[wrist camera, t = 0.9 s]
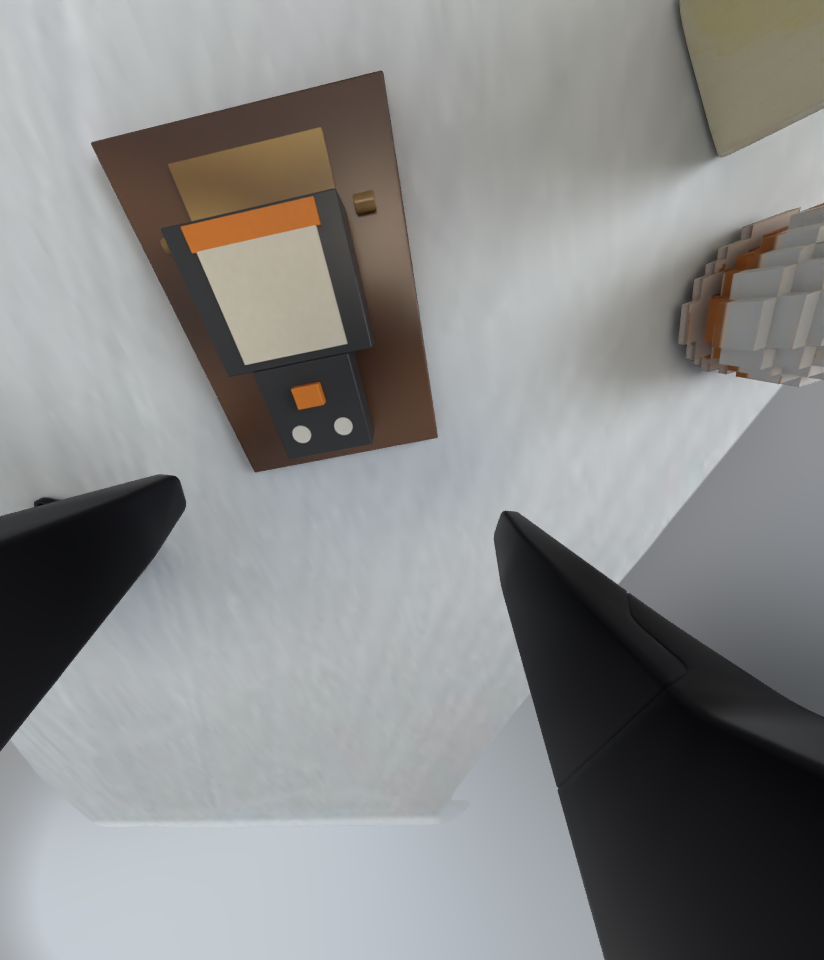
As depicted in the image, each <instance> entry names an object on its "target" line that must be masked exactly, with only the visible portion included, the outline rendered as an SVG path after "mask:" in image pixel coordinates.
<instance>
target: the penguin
mask: <svg viewBox="0 0 824 960" xmlns="http://www.w3.org/2000/svg"><path fill="white" fill-rule="evenodd" d="M160 230H161V233H162V235H163V237H164V239H165V241H166V243H167V245H168V248H169V250H170V252H171V254H172V256H173V258H174V260H175V263H176V265H177V267H178V269H179V271H180V273H181V276H182V278H183V280H184V282H185V284H186V286H187V288H188V291H189V293H190V295H191V297H192V299H193V301H194V303H195V306H196V308H197V310H198V312H199V314H200V316H201V319H202V321H203V323H204V325H205V327H206V329H207V331H208V334H209V336H210V338H211V340H212V342H213V344H214V346H215V349H216V351H217V353H218V355H219V357H220V359H221V362H222V364H223V366H224V368H225V370H226V372H227V374H228V376H229V377H232V376H237V375H242V374H247V373H252V372H253V375H254V377H255V380H256V382H257V384H258V387H259V389H260V392H261V394H262V396H263V399H264V401H265V403H266V406H267V408H268V410H269V413H270V415H271V417H272V420H273V422H274V425H275V427H276V429H277V432H278V434H279V436H280V439H281V441H282V443H283V446H284V448H285V450H286V453H287V455H288V457H289V459H290V460H292V459H297V458H302V457H307V456H313V455H318V454H323V453H328V452H333V451H339V450H344V449H349V448H354V447H360V446H365V445H370V444H372V441H373V436H374V430H375V429H374V425H373V421H372V417H371V413H370V409H369V405H368V401H367V398H366V394H365V390H364V386H363V382H362V378H361V374H360V370H359V366H358V362H357V358H356V355H355V351H358V350H363V349H368V348H372V346H373V345H374V344H375V340H374V336H373V331H372V327H371V322H370V318H369V313H368V309H367V304H366V300H365V295H364V291H363V286H362V282H361V277H360V273H359V268H358V264H357V259H356V255H355V250H354V246H353V241H352V237H351V232H350V228H349V223H348V219H347V214H346V210H345V207H344V205H343V203H342V200H341V198H340V196H339V194H338V192H337V190H336V189H335V188H333V189H328V190H324V191H320V192H315V193H311V194H307V195H302V196H298V197H294V198H290V199H285V200H281V201H277V202H272V203H268V204H264V205H259V206H255V207H251V208H246V209H242V210H238V211H233V212H229V213H225V214H220V215H216V216H212V217H207V218H203V219H199V220H195V221H190V222H186V223H182V224H177V225H173V226H169V227H164V228H161V229H160Z"/></svg>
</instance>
